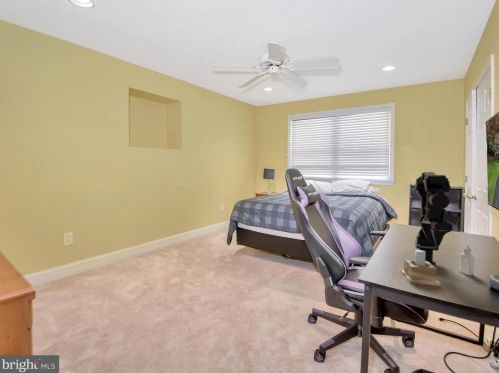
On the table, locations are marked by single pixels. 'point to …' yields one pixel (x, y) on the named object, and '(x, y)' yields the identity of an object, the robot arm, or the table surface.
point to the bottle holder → (420, 273)
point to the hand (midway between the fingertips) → (433, 242)
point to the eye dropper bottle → (467, 262)
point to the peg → (419, 258)
